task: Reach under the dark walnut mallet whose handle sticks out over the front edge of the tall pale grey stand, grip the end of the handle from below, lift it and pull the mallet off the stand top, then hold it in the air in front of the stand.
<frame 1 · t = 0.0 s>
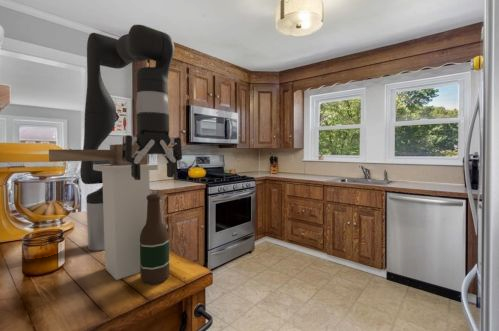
hand: (154, 178, 64), 29 cm above the counter, tool pointing down, fingers open, 8 cm apart
mallet: (128, 164, 78), point 32 cm above the counter, touching stand
stand: (128, 268, 79), on the counter
beer bottle: (155, 279, 72), on the counter
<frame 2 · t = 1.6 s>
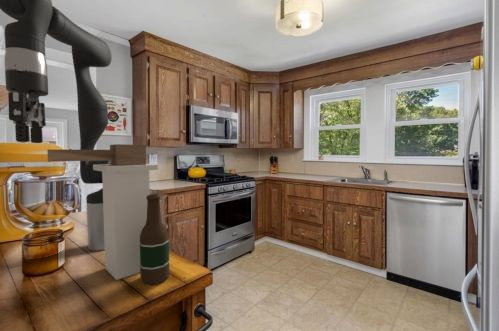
hand: (30, 142, 61), 38 cm above the counter, tool pointing down, fingers open, 8 cm apart
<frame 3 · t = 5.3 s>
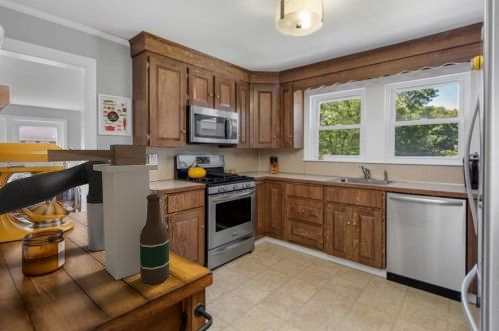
nothing on the counter moved.
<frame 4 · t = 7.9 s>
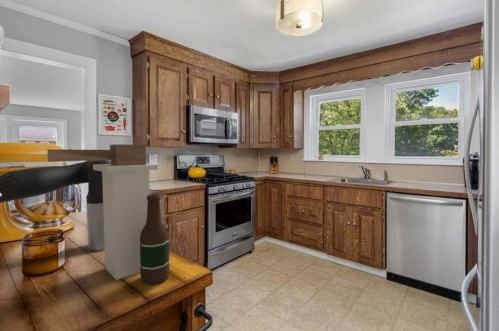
hand: (16, 178, 60), 30 cm above the counter, tool pointing upward, fingers open, 8 cm apart
nothing on the counter moved.
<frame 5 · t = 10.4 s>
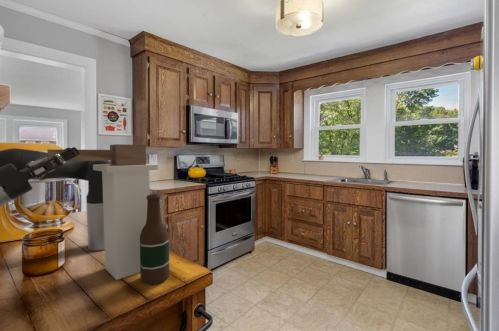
hand: (74, 150, 68), 36 cm above the counter, tool pointing upward, fingers open, 5 cm apart
mallet: (128, 164, 77), point 32 cm above the counter, touching gripper, stand
everything else where it was.
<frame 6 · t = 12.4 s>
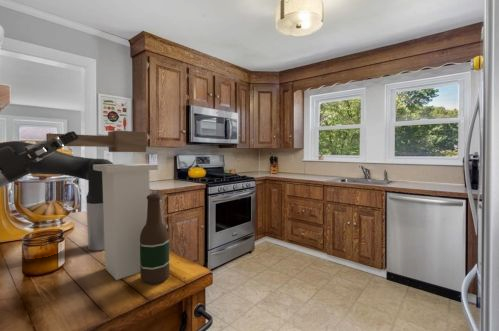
hand: (74, 134, 67), 40 cm above the counter, tool pointing upward, fingers closed on mallet, 3 cm apart
mallet: (127, 152, 77), point 36 cm above the counter, touching gripper
everything else where it was.
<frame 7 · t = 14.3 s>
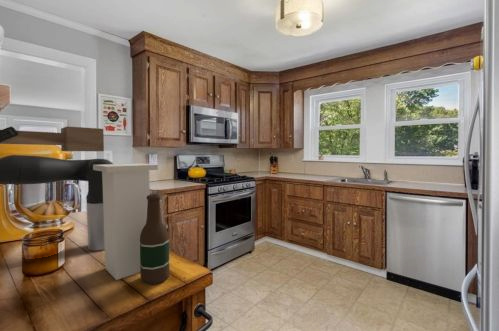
hand: (14, 131, 59), 41 cm above the counter, tool pointing upward, fingers closed on mallet, 3 cm apart
mallet: (82, 151, 69), point 36 cm above the counter, touching gripper
everything else where it was.
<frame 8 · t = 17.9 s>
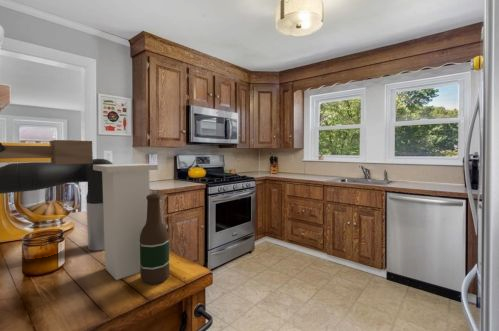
hand: (2, 145, 59), 37 cm above the counter, tool pointing upward, fingers closed on mallet, 3 cm apart
mallet: (71, 163, 69), point 33 cm above the counter, touching gripper
everything else where it was.
at the end: the gripper is holding mallet; mallet touching gripper; mallet moved 14.3 cm from its start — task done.
